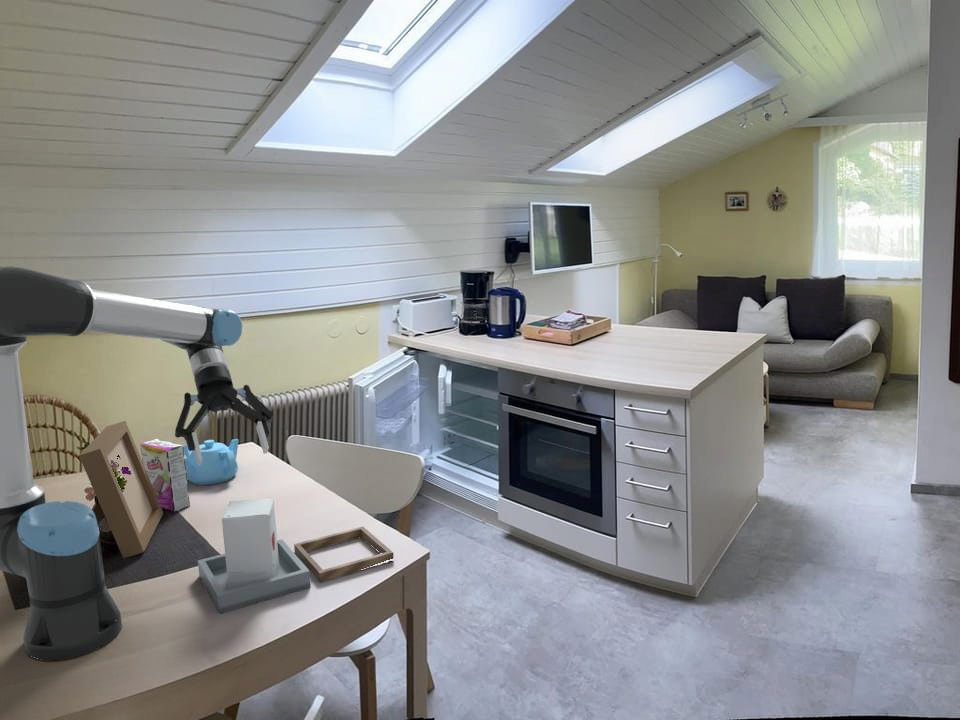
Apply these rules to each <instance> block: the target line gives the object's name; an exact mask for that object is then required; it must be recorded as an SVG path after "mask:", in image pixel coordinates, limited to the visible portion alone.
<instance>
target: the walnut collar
mask: <svg viewBox="0 0 960 720" xmlns="http://www.w3.org/2000/svg"><path fill="white" fill-rule="evenodd" d="M359 537H360V538H361V537H362V538H363V541H365V542H366V541H367V542H368V543H369V544H370V545H372V546H373V547H374V548H375V549H377V550H378V551H379V552H380V553H382V554H379V553H377V554H375V555H371V556H367V557H364V558H360V559H358V560H357V559H356V560H353V561H350V562H346V563H343V564H342V563H341V564H340V565H336V566H332V567H329V568H326V569H323V568H322V567H321V566H320V565H319V564H318V563H317V561H316V560H315V559H313V557H312V556H311V555H310V554H309V552H311V551H316V550H318V549H322V548H326V547H329V546H334V545H337V544H336V543H338V544H341V543H340V542H342V543H345V542H348V540H349V541H352V539H353V540H356V538H357V539H360V538H359ZM362 538H361V539H362ZM344 541H345V542H344ZM367 542H366V543H367ZM368 543H367V544H368ZM333 544H334V545H333ZM369 544H368V545H369ZM370 545H369V546H370ZM293 546H294V547H293V548H294V554H295V555H296V556H297V557H298V558H299V559H300V561H301V562H302V563H303V564H304V565H305V566H306V567H307V569H308V570H309V572H311V573H312V574H313V576H314V577H315V578H316V579H317V580H318V582H320V583H324V582H327V581H331V580H335V579H338V578H341V577H340V576H342V577H344V575H345V576H348V575H352V574H354V573H353V572H355V573H357V572H356V571H359V570H361V569H364V568H367V567H370V566H373V565H375V564H378V563H381V562H384V561H386V560H390V559H393V558H394V555H395V554H394V551H393V550H391V549H390V548H388V547H387V546H386V545H385V544H384V543H383V542H382V541H381V540H379V538H378V537H376V536H375V535H374V534H372V532H370V531H369V530H368V529H366V528H365V527H364V526H360V527H356V528H355V527H354V528H352V529H347V530H344V531H341V532H335V533H332V534H328V535H326V536H325V535H323V536H321V537H317V538H313V539H307V540H305V541H301V542H297V543H294V544H293ZM373 547H372V548H373ZM374 548H373V549H374ZM375 549H374V550H375ZM394 559H395V558H394ZM359 572H360V571H359ZM351 573H352V574H351ZM347 574H348V575H347Z"/></svg>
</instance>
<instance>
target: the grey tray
mask: <svg viewBox="0 0 960 720" xmlns="http://www.w3.org/2000/svg"><path fill="white" fill-rule="evenodd" d="M277 546H278V558H279V569H278V573H277V577H274V578H271V579H267V580H264V581H260V582H256V583H253V584H249V585H246V586H242V587H238V588H235V589H231V590H228V580H227V569H226V558H225V553H222V554H218V555H214V556H211V557H207V558H202V559H198V560H197V565H198V576H199V577H198V578H200V580H201V583H202V584H203V587H205V589H206V592H207V593H208V595H209V596H210V598H211V601H212V602H213V604H214V606H215V608H216V609H217V612H218V613H219V614H223V613H228V612H230V611H233V610H237V609H241V608H244V607H247V606H250V605H251V606H252V605H254V604H258V603H261V602H265V601H268V600H271V599H272V600H273V599H275V598H278V597H283V596H286V595H289V594H292V593H296V592H300V591H302V590H305V589H309V588H311V576H310V575H311V573H310V572H311V571H310V570H309V569H308V567H307V566H306V565H305V564H304V563H303V562H302V561H301V559H300V558H299V557H298V556H297V555H296V554H295V551H293V550H292V549H291V548H290V546H289V545H288V544H287V543H286V542H285V540H283V539H277Z"/></svg>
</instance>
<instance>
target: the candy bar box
mask: <svg viewBox="0 0 960 720" xmlns="http://www.w3.org/2000/svg"><path fill="white" fill-rule="evenodd" d="M139 444H140V453H141V454H140V455H141V460H142V462H143V465H144V467H145V470H146V472H147V474H148V477H149V479H150V482H151V484H152V487H153V489H154V491H155V494H156V496H157V499H158V501H159V504H160V506H161V508H162V509H163V508H164V510H166V509H168V510H167V511H169V510H171V511H170V512H173V511H174V512H173V513H176V512H175V511H177V512H179V511H181V509H182V510H183V509H186V508H189V507H190V506H191V504H190V503H191V502H190V494H189V487H188V479H187V475H186V467H185V458H186V457H185V452H184V449H183V445H184V444H178V443H175V442H170V441H167V440H164V439H163V440H162V439H159V438H155V439H151V440H148V441H144V442H141V443H139ZM178 510H179V511H178Z"/></svg>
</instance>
